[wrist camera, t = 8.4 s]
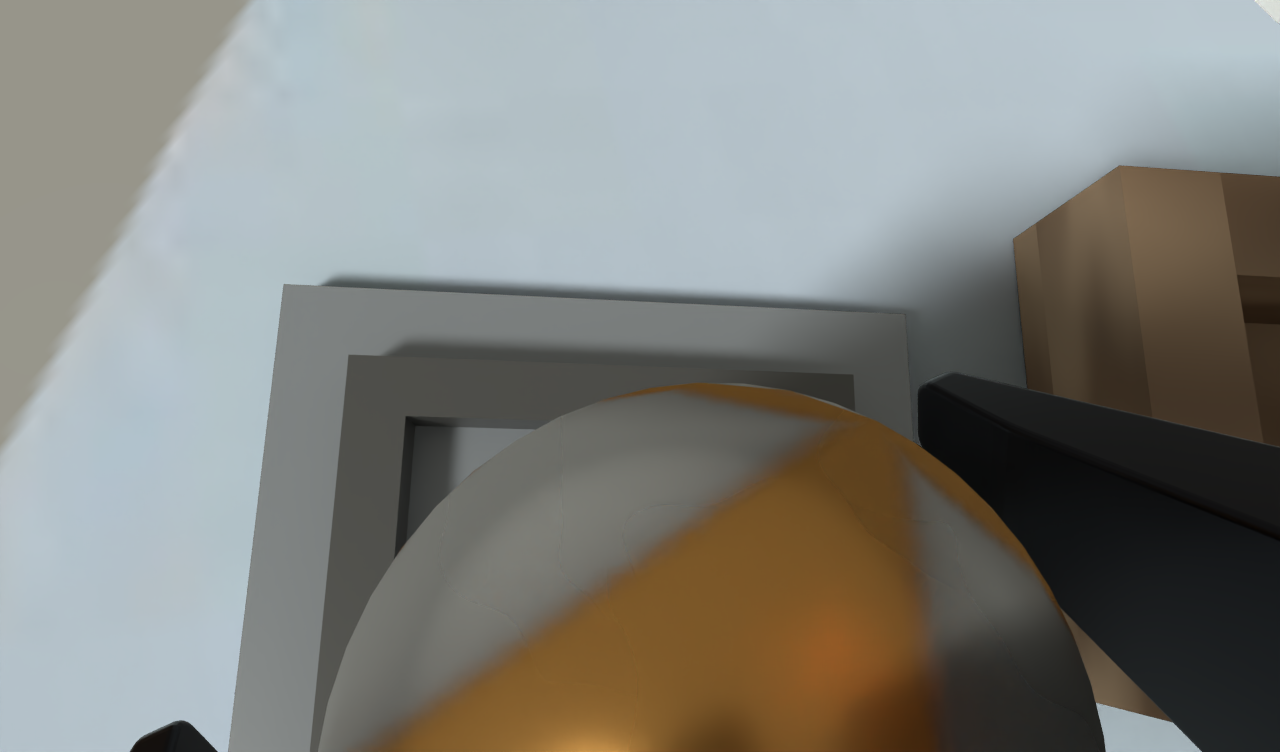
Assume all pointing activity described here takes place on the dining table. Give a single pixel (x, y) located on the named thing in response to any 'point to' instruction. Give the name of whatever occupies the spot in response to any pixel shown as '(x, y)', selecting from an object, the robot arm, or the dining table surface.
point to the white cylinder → (1271, 8)
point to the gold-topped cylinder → (712, 597)
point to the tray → (469, 436)
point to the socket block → (1157, 317)
